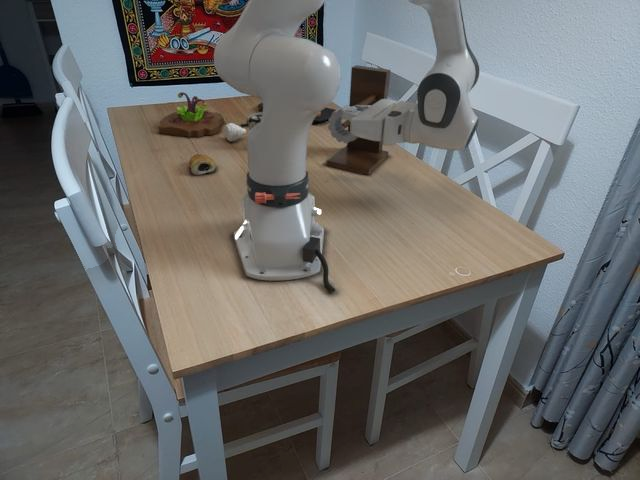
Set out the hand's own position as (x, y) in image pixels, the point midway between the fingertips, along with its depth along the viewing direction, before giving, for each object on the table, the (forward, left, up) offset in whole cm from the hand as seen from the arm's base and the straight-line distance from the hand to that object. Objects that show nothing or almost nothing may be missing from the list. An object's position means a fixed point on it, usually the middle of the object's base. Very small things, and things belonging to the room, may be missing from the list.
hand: (348, 111), depth 108 cm
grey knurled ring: (0, 0, -7) cm, 7 cm away
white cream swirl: (+30, +29, -18) cm, 45 cm away
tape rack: (+11, -6, -18) cm, 22 cm away
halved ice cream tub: (+23, +19, -18) cm, 35 cm away
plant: (+43, +44, -18) cm, 64 cm away
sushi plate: (+49, +13, -18) cm, 54 cm away
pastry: (+9, +37, -18) cm, 43 cm away
